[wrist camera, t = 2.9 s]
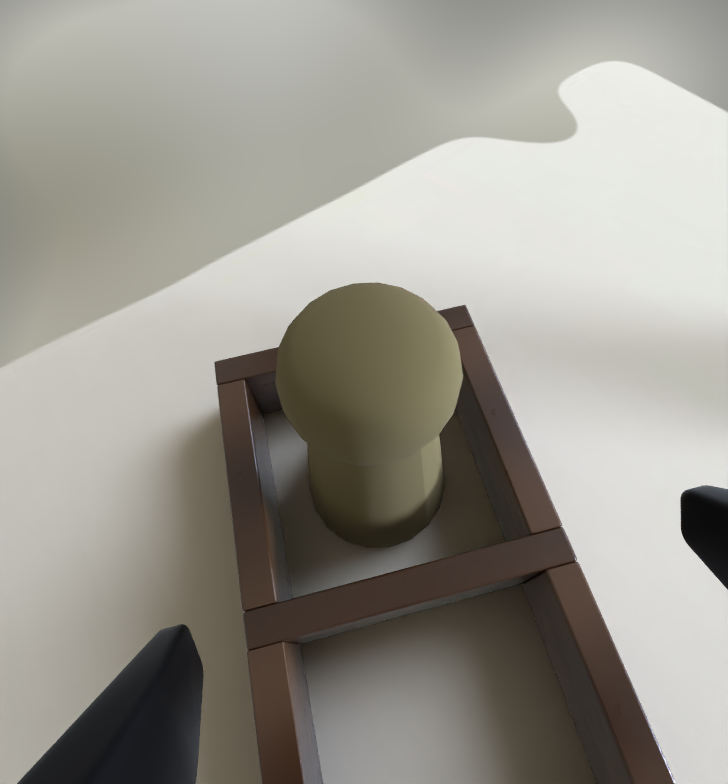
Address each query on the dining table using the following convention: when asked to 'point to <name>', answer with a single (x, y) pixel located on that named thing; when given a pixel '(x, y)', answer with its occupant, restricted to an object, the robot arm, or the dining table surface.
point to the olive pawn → (371, 407)
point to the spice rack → (422, 579)
